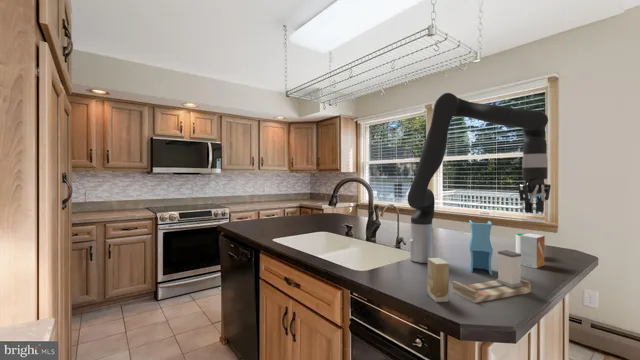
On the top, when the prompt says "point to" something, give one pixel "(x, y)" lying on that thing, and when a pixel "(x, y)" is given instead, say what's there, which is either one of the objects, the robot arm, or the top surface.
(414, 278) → the top surface
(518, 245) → the mug
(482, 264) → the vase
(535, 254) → the small box
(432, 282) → the skincare box
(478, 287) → the fader track
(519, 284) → the fader knob
